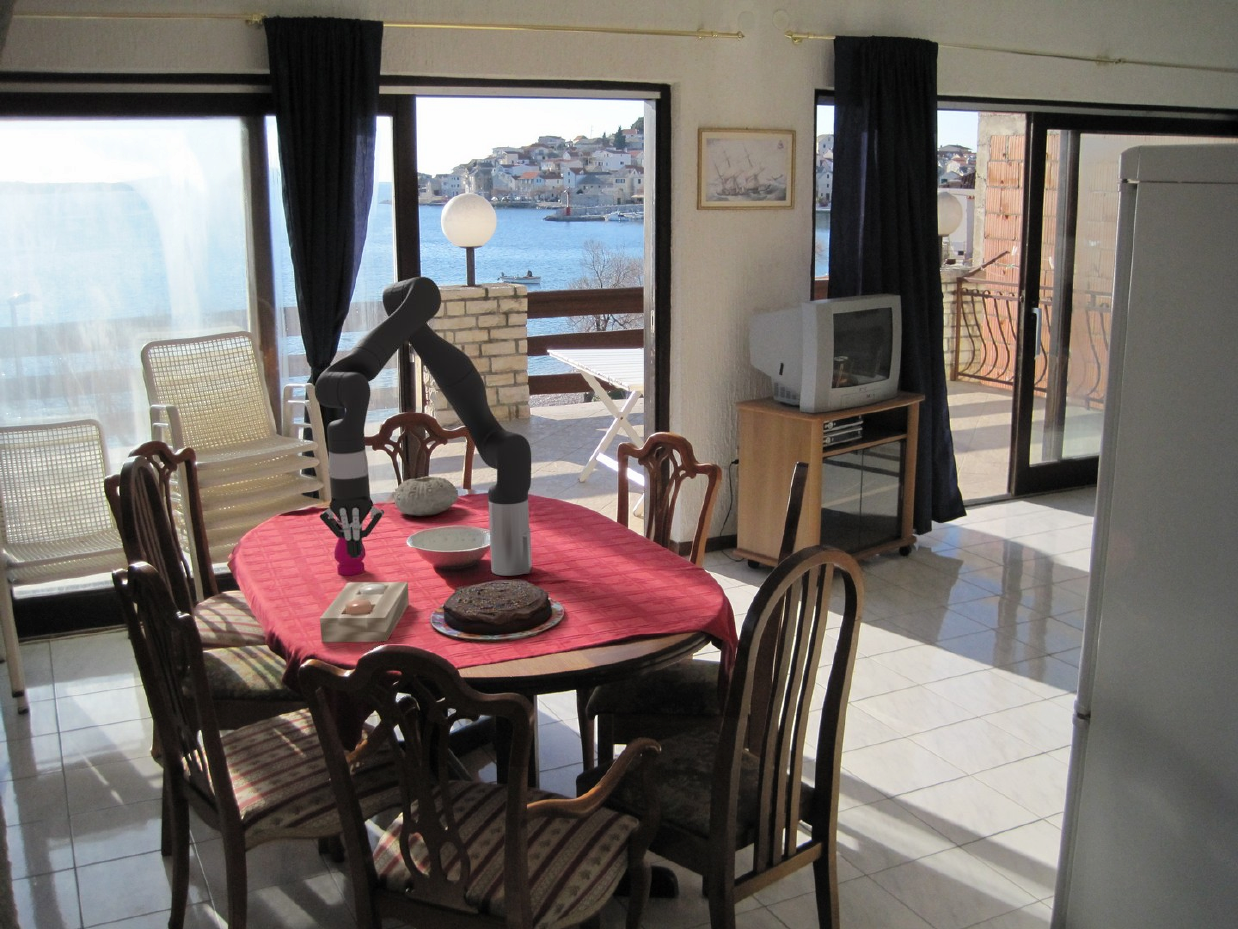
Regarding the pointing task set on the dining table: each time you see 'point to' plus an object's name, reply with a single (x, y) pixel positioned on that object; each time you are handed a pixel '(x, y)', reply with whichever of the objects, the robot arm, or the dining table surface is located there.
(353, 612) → the terracotta button
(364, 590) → the cream button
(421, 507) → the decorative shell
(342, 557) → the pepper mill
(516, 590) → the chocolate cake
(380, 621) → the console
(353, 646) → the dining table surface
